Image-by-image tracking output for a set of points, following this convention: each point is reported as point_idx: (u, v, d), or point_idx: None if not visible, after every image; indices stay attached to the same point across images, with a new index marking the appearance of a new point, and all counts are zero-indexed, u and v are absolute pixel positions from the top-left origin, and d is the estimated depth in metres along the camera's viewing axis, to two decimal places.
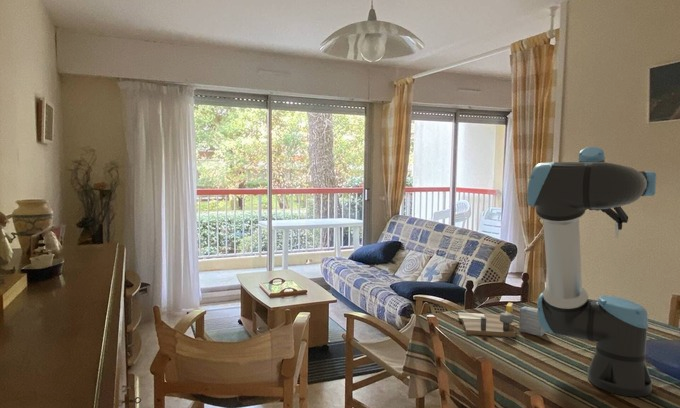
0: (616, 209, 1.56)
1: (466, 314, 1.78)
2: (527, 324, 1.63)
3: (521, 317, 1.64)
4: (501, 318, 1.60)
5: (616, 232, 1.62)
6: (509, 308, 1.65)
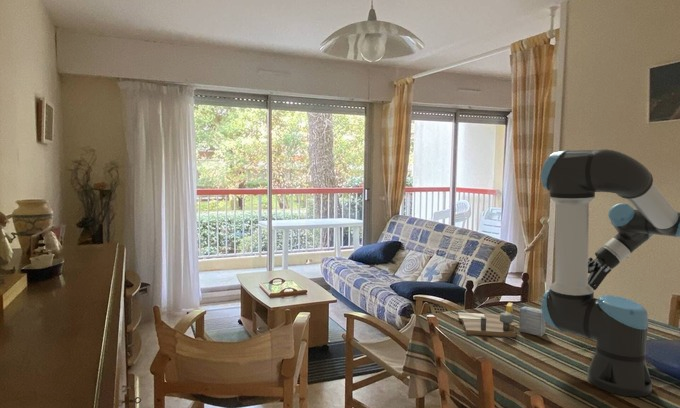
0: (599, 271, 1.52)
1: (466, 314, 1.78)
2: (527, 324, 1.63)
3: (521, 317, 1.64)
4: (501, 318, 1.60)
5: None
6: (509, 308, 1.65)
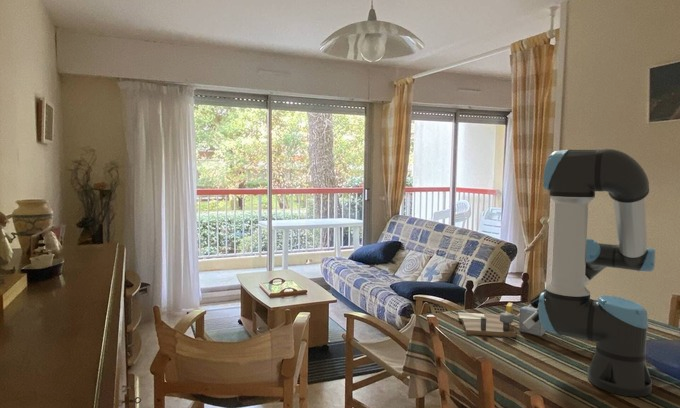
0: None
1: (466, 314, 1.78)
2: None
3: (521, 317, 1.64)
4: (501, 318, 1.60)
5: (528, 318, 1.60)
6: (509, 308, 1.65)
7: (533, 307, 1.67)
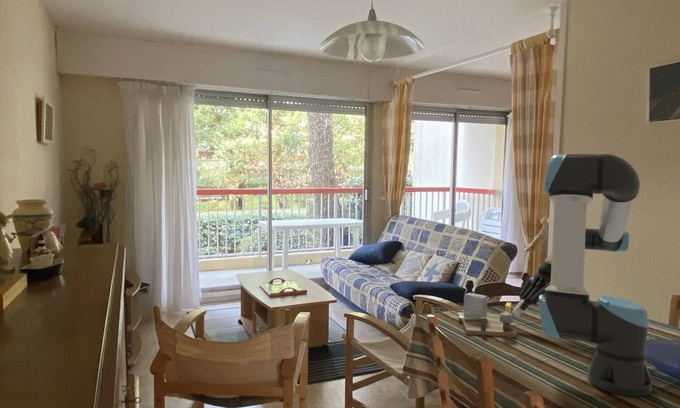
0: (542, 288, 1.65)
1: None
2: (470, 309, 1.74)
3: (465, 303, 1.75)
4: (501, 318, 1.60)
5: (516, 307, 1.67)
6: (508, 308, 1.65)
7: None
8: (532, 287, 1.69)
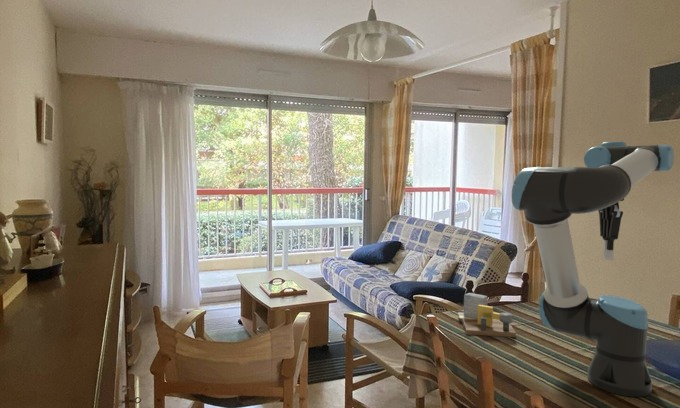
0: (611, 220, 1.45)
1: None
2: (470, 309, 1.74)
3: (465, 303, 1.75)
4: (510, 319, 1.59)
5: (604, 251, 1.50)
6: (492, 309, 1.64)
7: None
8: (605, 221, 1.50)
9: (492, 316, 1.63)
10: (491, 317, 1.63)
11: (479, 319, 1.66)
